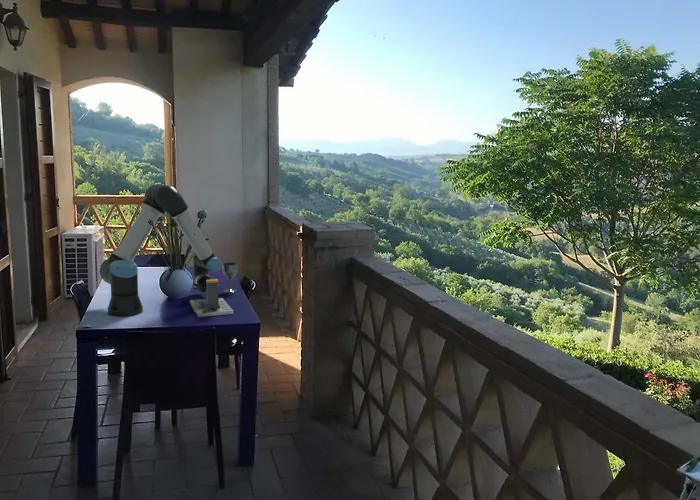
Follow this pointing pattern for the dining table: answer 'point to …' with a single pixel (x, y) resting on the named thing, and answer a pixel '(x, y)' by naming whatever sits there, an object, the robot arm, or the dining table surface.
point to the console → (203, 311)
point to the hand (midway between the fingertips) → (212, 292)
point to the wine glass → (229, 273)
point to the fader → (212, 293)
